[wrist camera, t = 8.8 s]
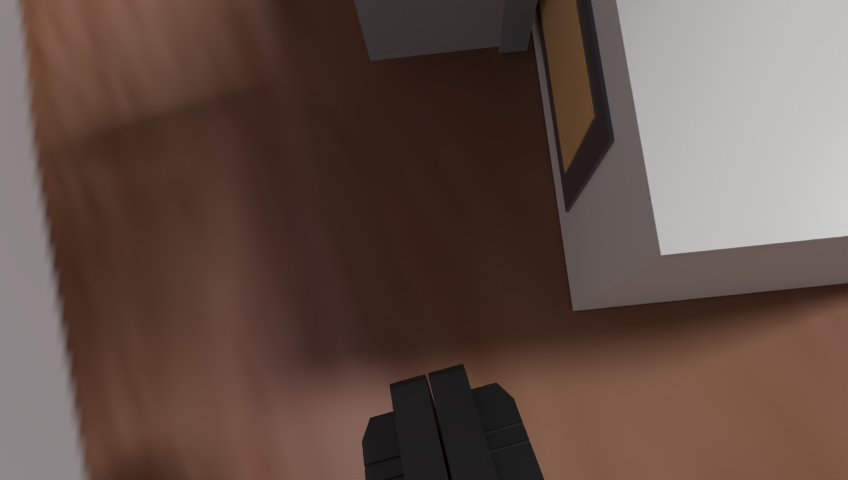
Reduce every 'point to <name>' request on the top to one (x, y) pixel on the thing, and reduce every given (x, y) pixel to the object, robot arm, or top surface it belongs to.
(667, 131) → the knobbed white box
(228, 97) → the top surface
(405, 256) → the top surface
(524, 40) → the side door
